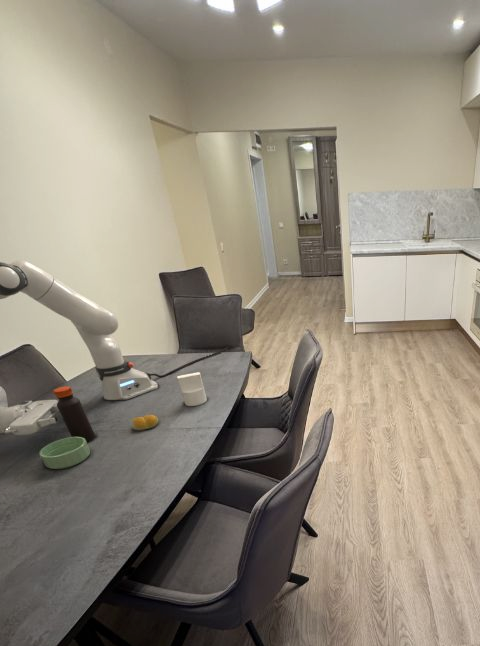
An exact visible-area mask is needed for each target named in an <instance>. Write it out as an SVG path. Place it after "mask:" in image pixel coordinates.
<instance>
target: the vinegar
mask: <svg viewBox="0 0 480 646" xmlns="http://www.w3.org/2000/svg"><path fill="white" fill-rule="evenodd" d="M53 393H54V395H55V398H56V400H57V401H58V403H57V407H58V409H59V411H58V412H59V414H60V417H61V418H62V420H63V422H64V424H65V426H66V428H67V430H68V432H69V435H70V437H82V438H85V440H86V442H87V443H89V442H90V441H93V440H94V439H95V437H96V433H95V432H94V430H93V427H92V425H91V423H90V420H89V418H88V416H87V413H86V412H85V409H84V407H83V404H82V403H81V400H80V399H79V398H78V397H76V396H74V392H73V390H72V388H71V386H67V385H65V386H59V387H57V388H54V389H53Z"/></svg>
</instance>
